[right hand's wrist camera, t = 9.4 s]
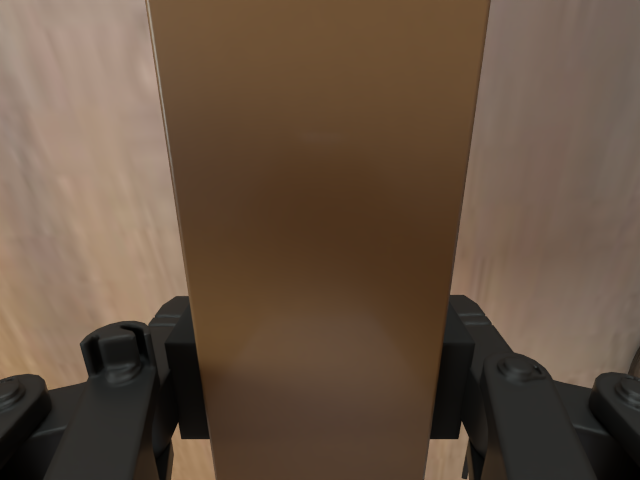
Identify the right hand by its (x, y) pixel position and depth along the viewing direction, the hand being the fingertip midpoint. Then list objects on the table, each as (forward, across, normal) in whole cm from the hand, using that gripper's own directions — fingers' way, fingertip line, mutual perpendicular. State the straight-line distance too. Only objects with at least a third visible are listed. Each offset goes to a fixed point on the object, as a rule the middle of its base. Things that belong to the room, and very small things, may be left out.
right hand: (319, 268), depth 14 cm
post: (+1, 0, -26) cm, 26 cm away
